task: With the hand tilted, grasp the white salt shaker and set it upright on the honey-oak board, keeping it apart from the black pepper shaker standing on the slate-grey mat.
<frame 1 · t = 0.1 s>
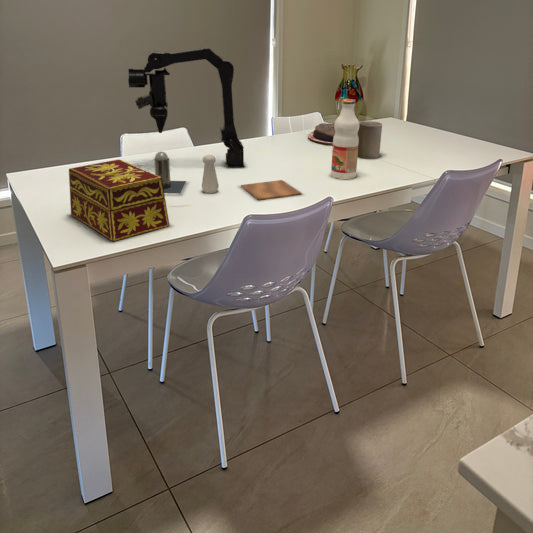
hand: (160, 130, 223), 15 cm above the table, tool pointing down, fingers open, 9 cm apart
chocolate cake: (337, 139, 276), on the table
decorative box: (119, 221, 178), on the table
pillar candle: (367, 156, 249), on the table
fruit juice: (343, 176, 222), on the table
oak board: (270, 190, 205), on the table
pepper shaker: (163, 186, 206), point 1 cm above the table, touching slate mat
salt shaker: (210, 193, 203), on the table
slate mat: (163, 188, 207), on the table
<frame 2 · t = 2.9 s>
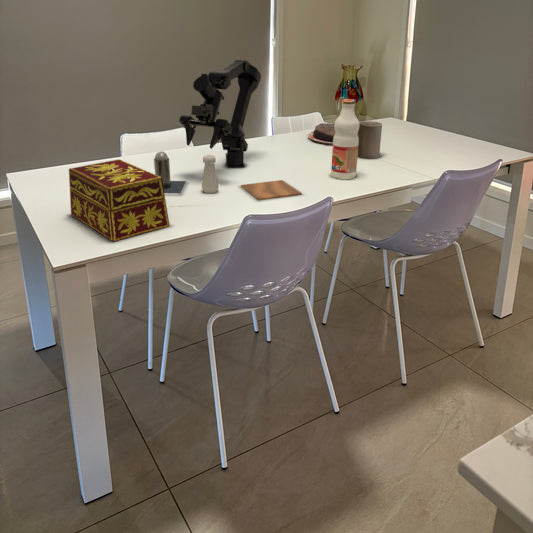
hand: (199, 146, 205), 14 cm above the table, tool tilted 35°, fingers open, 9 cm apart
nothing on the table moved.
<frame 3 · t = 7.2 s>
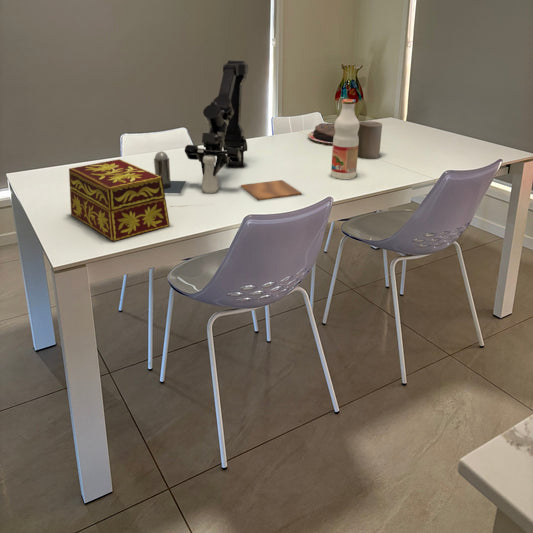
hand: (208, 175, 198), 7 cm above the table, tool tilted 45°, fingers closed on salt shaker, 3 cm apart
salt shaker: (210, 193, 203), on the table, touching gripper
everything else where it was.
when the fingers open (7 cm above the table, at t = 14.4 s): salt shaker stays where it is, resting on oak board.
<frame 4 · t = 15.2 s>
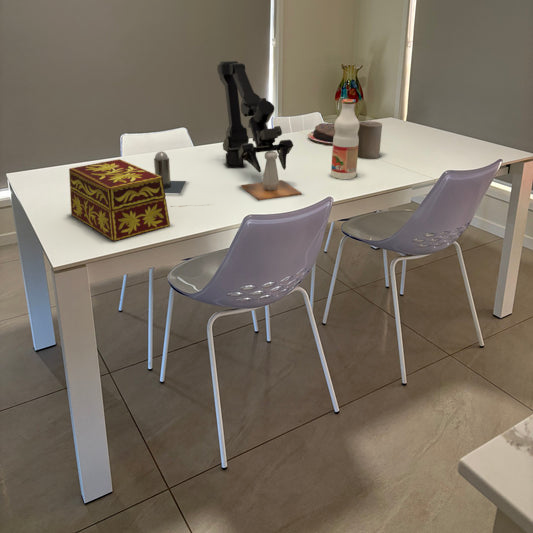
hand: (272, 170, 201), 8 cm above the table, tool tilted 45°, fingers open, 9 cm apart
salt shaker: (270, 189, 205), resting on oak board
everything else where it was.
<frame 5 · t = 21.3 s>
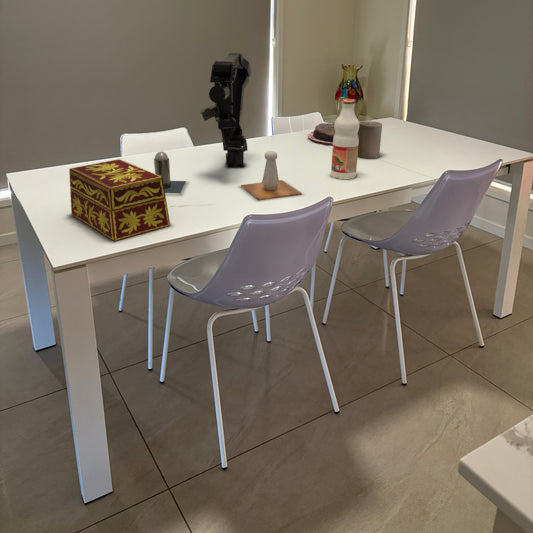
hand: (225, 142, 214), 13 cm above the table, tool pointing down, fingers open, 9 cm apart
nothing on the table moved.
at the end: salt shaker inside the target area on the oak board (0.3 cm from its centre), point 0.4 cm above the oak board's base; salt shaker tilted 0°; pepper shaker moved 0.0 cm from its start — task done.
